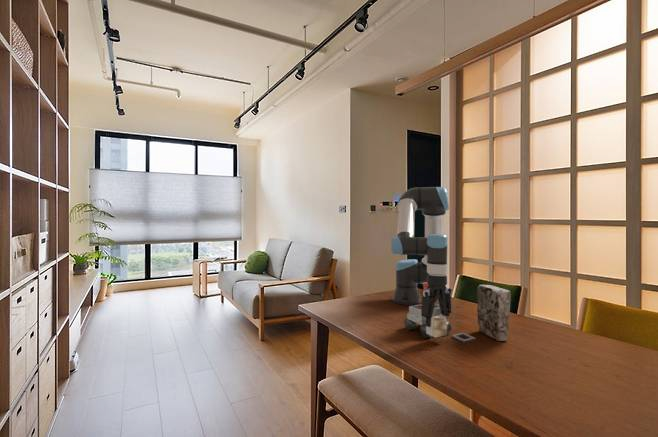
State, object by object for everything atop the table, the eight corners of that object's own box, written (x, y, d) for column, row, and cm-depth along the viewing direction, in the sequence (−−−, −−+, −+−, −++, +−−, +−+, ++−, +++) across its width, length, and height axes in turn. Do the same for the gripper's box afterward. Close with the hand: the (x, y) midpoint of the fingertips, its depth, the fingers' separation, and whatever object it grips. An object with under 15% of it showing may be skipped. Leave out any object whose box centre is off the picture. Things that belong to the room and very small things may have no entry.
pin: (432, 312, 145) (432, 282, 145) (432, 315, 141) (432, 284, 141) (422, 311, 146) (422, 281, 146) (422, 314, 142) (422, 283, 142)
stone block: (512, 340, 134) (512, 290, 133) (498, 342, 131) (499, 291, 131) (486, 329, 146) (486, 283, 145) (473, 331, 144) (473, 284, 143)
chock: (437, 330, 136) (437, 316, 136) (446, 335, 131) (447, 319, 131) (425, 333, 133) (426, 318, 133) (435, 337, 128) (435, 321, 128)
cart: (427, 323, 154) (427, 300, 153) (452, 334, 140) (453, 309, 140) (402, 328, 147) (402, 304, 147) (427, 340, 134) (427, 314, 134)
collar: (462, 334, 140) (462, 332, 140) (475, 339, 134) (475, 337, 134) (451, 337, 137) (451, 335, 137) (464, 342, 131) (464, 340, 131)
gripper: (447, 270, 139) (447, 326, 140) (411, 274, 131) (410, 334, 131) (462, 273, 132) (461, 332, 133) (424, 278, 124) (424, 340, 124)
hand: (436, 333), depth 132 cm, fingers closed on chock, 6 cm apart
